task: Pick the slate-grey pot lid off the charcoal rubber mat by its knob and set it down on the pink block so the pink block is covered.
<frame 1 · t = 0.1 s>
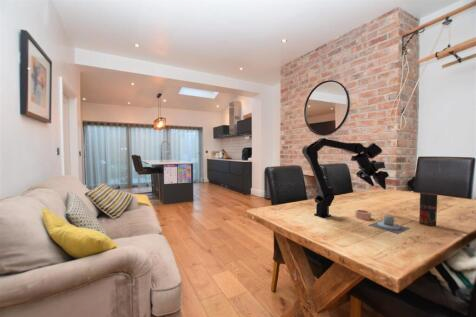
hand: (379, 187, 116), 15 cm above the table, tool tilted 35°, fingers open, 9 cm apart
deodorant: (427, 226, 99), on the table
mat: (388, 228, 96), on the table
lid: (388, 226, 96), point 1 cm above the table, touching mat
pink block: (362, 219, 109), on the table
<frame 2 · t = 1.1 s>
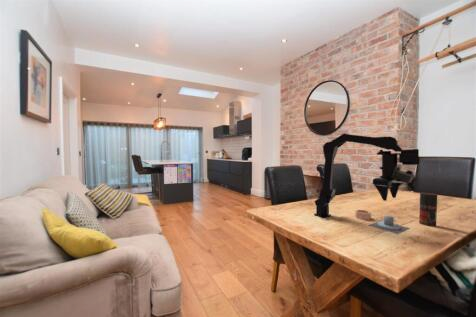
hand: (389, 199, 96), 13 cm above the table, tool pointing down, fingers open, 9 cm apart
nothing on the table moved.
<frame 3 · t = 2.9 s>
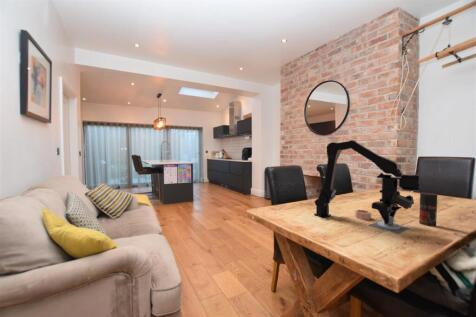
hand: (388, 222, 96), 3 cm above the table, tool pointing down, fingers closed on lid, 3 cm apart
lid: (388, 226, 96), point 1 cm above the table, touching gripper, mat
everything else where it was.
when the fingers open (7 cm above the table, at t = 5.7 s): lid drops 1 cm, resting on pink block.
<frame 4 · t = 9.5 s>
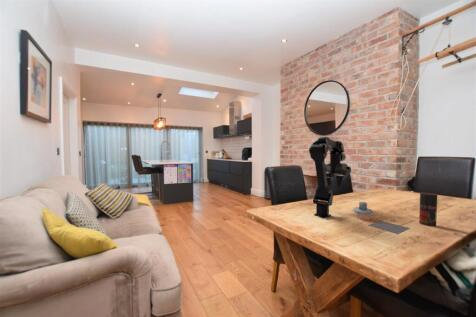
hand: (334, 187, 129), 12 cm above the table, tool pointing down, fingers open, 9 cm apart
lid: (362, 211, 109), point 4 cm above the table, touching pink block
everything else where it was.
at the end: lid 0.0 cm off-centre on the pink block, point 4.0 cm above the pink block's base; lid tilted 0°; the gripper is holding nothing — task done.
